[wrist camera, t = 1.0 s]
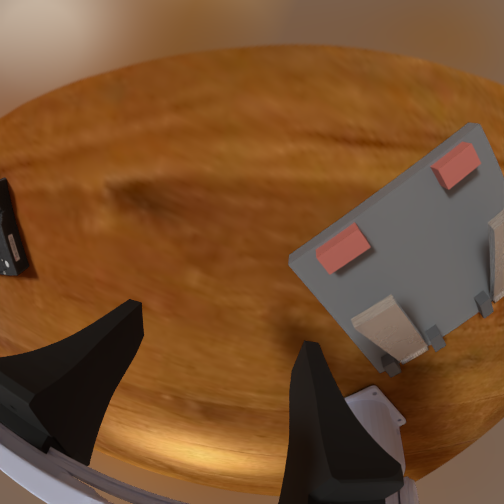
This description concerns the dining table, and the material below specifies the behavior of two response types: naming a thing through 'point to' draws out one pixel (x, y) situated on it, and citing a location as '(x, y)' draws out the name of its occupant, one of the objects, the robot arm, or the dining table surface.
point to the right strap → (496, 256)
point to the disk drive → (10, 237)
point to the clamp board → (413, 246)
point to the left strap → (391, 330)
